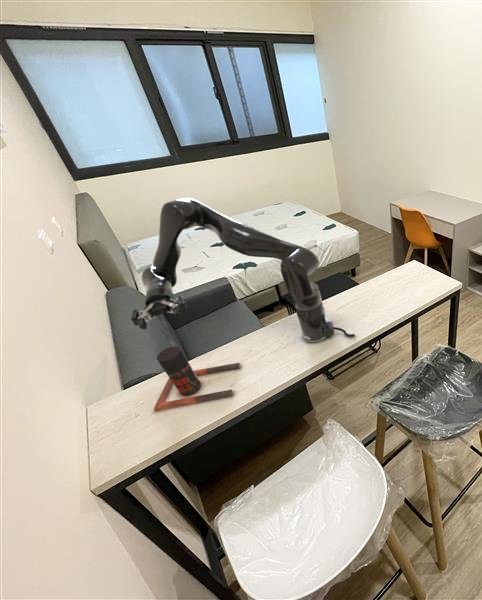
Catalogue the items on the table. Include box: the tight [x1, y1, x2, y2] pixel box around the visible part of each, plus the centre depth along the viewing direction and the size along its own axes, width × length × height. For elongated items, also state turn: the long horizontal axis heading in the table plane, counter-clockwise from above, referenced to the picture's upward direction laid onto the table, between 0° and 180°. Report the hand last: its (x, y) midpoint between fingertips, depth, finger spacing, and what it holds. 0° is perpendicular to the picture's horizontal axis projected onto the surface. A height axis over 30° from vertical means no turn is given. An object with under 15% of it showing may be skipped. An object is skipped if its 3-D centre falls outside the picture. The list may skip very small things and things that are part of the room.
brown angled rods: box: [153, 362, 242, 412], centre depth 100 cm, size 22×13×2 cm, turn 102°
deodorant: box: [156, 346, 202, 397], centre depth 96 cm, size 6×6×15 cm
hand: (159, 321), depth 97 cm, fingers open, 8 cm apart
